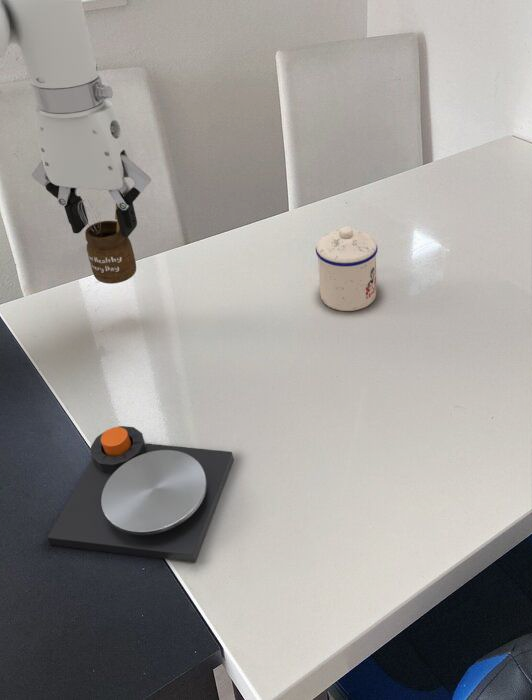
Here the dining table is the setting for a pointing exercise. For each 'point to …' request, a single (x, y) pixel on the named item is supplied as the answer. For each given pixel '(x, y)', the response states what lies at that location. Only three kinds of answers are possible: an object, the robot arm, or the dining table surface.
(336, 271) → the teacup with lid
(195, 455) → the scale
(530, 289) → the dining table surface
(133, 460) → the brushed metal disc
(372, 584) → the dining table surface
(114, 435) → the tare button
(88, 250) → the utensil holder
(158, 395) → the dining table surface
